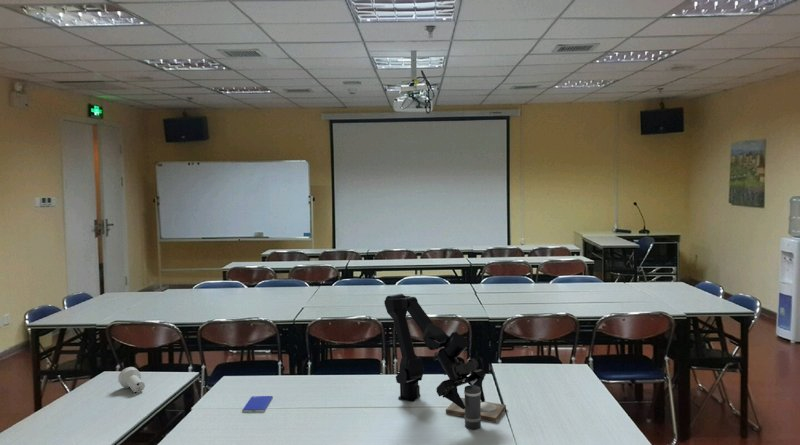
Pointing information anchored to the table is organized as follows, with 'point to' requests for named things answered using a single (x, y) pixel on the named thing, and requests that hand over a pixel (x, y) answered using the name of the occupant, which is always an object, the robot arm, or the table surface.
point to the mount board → (487, 410)
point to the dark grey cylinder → (472, 407)
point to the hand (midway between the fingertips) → (474, 405)
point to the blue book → (257, 404)
